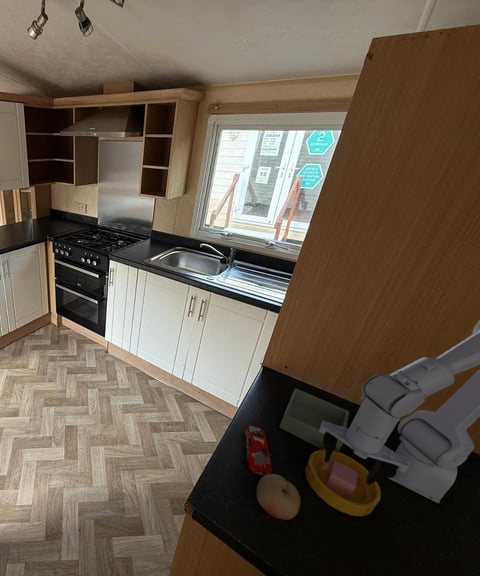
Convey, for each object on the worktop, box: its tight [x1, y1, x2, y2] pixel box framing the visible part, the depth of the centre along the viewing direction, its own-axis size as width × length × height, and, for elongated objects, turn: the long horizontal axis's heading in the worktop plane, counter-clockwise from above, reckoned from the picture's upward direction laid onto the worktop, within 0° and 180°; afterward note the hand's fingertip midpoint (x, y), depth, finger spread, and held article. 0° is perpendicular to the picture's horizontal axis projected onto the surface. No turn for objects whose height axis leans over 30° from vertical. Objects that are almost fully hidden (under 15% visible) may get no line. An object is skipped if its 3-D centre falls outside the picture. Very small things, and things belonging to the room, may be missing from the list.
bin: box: [279, 387, 350, 452], centre depth 86 cm, size 13×13×6 cm
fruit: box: [256, 473, 301, 521], centre depth 67 cm, size 8×8×8 cm
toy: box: [326, 461, 358, 499], centre depth 72 cm, size 4×4×4 cm
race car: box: [243, 425, 273, 477], centre depth 79 cm, size 13×5×4 cm, turn 161°
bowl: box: [304, 449, 382, 517], centre depth 72 cm, size 13×13×4 cm
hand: (346, 469), depth 70 cm, fingers open, 7 cm apart
